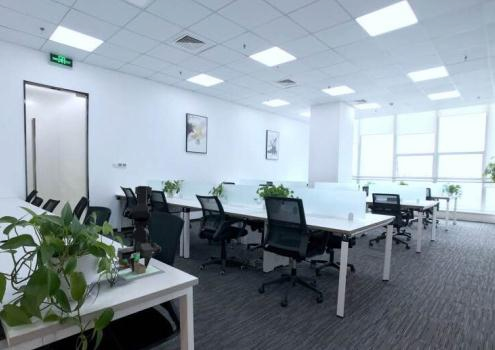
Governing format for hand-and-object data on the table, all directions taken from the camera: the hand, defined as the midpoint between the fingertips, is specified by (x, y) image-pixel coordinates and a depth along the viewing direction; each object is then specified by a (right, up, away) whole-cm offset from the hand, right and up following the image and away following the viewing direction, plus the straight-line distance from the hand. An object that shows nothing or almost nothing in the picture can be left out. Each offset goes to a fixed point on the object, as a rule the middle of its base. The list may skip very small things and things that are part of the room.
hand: (139, 270), depth 129 cm
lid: (0, -2, 0) cm, 2 cm away
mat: (0, -2, 0) cm, 2 cm away
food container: (-8, -2, +10) cm, 12 cm away
